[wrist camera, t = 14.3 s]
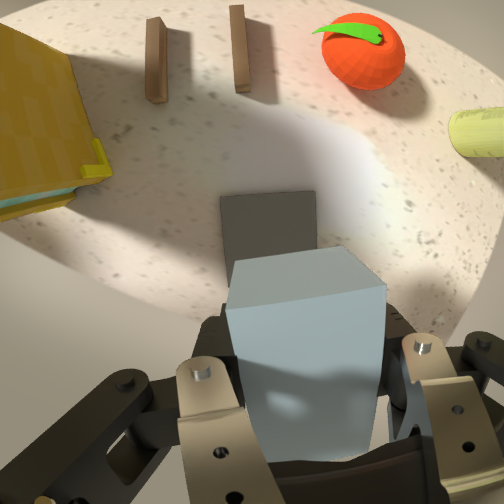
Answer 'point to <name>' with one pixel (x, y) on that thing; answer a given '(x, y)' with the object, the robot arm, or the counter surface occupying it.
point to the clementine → (363, 51)
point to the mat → (267, 225)
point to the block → (308, 351)
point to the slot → (158, 56)
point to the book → (42, 129)
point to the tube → (478, 132)
